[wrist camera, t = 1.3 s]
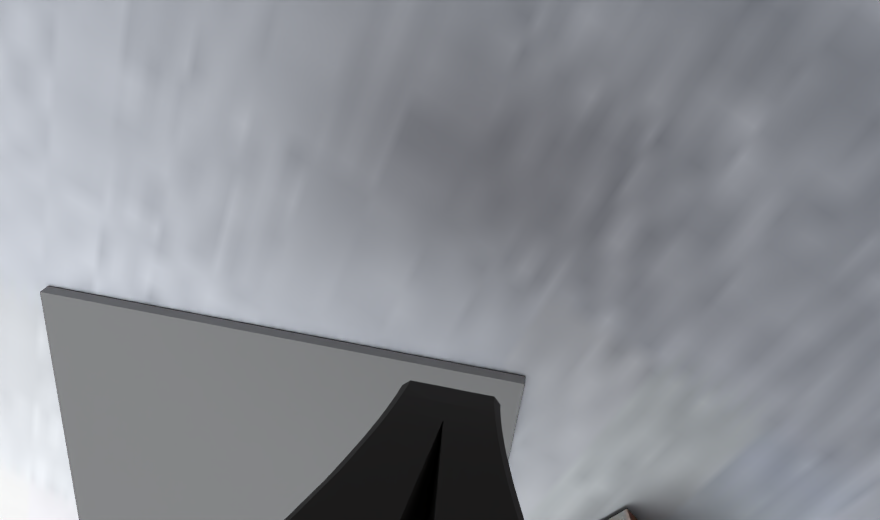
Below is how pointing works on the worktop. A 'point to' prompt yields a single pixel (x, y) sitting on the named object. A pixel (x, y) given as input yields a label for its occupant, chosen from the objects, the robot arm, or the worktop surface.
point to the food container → (624, 516)
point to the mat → (219, 408)
